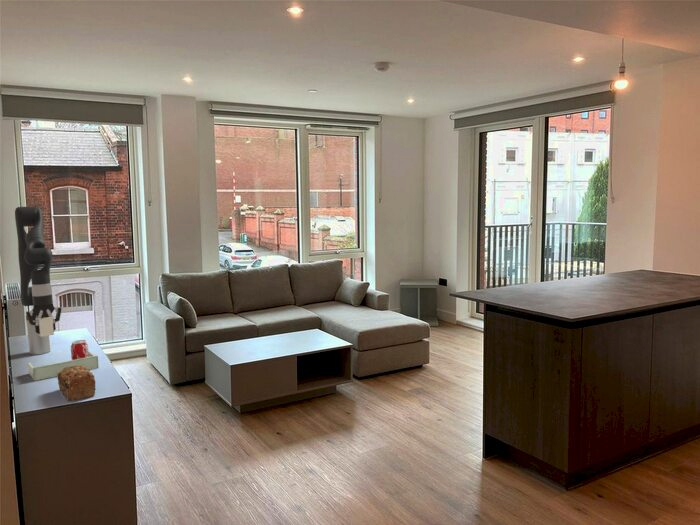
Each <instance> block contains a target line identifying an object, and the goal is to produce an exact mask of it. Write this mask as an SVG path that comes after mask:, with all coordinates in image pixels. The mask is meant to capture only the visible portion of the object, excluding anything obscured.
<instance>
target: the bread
mask: <svg viewBox="0 0 700 525" xmlns="http://www.w3.org/2000/svg"><path fill="white" fill-rule="evenodd" d="M57 381H58V382H57V384H58V388H59V391H60V392H61V393H62V394H63V396H64V397H65V398H66V400H68V401H69V402H70V401H79V400H82V399H87V398H92V397H94V396H95V395H96V379H95V375H94V373H93V372H92V371H91V370H87V368H86V367H85V366H82V365H80V366H70V367H67V368H64V369H63V370H62V371H60V372H59V373H58V376H57Z"/></svg>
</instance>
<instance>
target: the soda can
mask: <svg viewBox="0 0 700 525" xmlns="http://www.w3.org/2000/svg"><path fill="white" fill-rule="evenodd" d="M70 355H71V358H70V359H71V360H76V359H81V358H86V357H89V345H88V343H87V340H85V339H80V340H78V339H77V340H74V341H72V342H71V345H70Z"/></svg>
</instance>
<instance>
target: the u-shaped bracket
mask: <svg viewBox="0 0 700 525" xmlns="http://www.w3.org/2000/svg"><path fill="white" fill-rule="evenodd" d="M88 352H89V357H86V358H81V359H76V360H72V359H71V360H66V361H61V362H55V363H49V364H45V365H40V366H33V364H32V363H31V362H30V361H29V362H27V368H28V375H29V376H30V377H31V378H32V380H33V381H34V382H36V381H41V380H45V379H51V378H56V377H58V373H59V372H60V371H62V370H63V369H64V368H67V367H70V366H80V365H82V366H85V367H86V368H87V370H89V371H91V370H95V369H99V368H100V367H99V357H98V355H96V354H94V352H92V351H89V350H88ZM40 379H41V380H40Z"/></svg>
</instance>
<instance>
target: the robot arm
mask: <svg viewBox="0 0 700 525" xmlns="http://www.w3.org/2000/svg"><path fill="white" fill-rule="evenodd" d="M14 220H15V227H16V233H17V234H16V235H17V250H18V251H17V252H18V255H17V257H18V266H19V275H20V278H19V280H20V292H19V293H20V302H21V305H22V306H23V307H31V306H32V309H31V310H29V311H28V310H27V311H25V320H26V329H27V330H26V331H27V340H28V352H29V355H43V354H48V353H49V352H51V345H50V344H51V343H50V342H51V341H50V335H49V336H43V337H41V336H39V335H38V334H40V329H39V319H41V318H43V317H53V329H54V331H56V323H57V322H59V321H60V320H61V314H62V307H59V306H57V307H56V306H54V300H53V290H52V285H51V275H50V273H51V272H50V271H51V265H52V261H53V251H52V249H50V248H49V247H46V241H45V236H44V215H43V210H42V209H41V207H40V206H35V205H34V206H18V207H16V208H15V209H14ZM25 227H31V228H30V229H29V230H28V232H26V229H25ZM41 265H43V266H42V268H40V267H41ZM30 282H31V286H29V285H30ZM54 312H55V313H56V314H55V318H54V316H53V313H54Z"/></svg>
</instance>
